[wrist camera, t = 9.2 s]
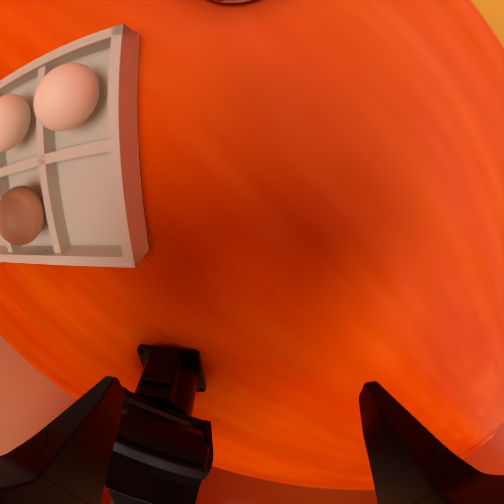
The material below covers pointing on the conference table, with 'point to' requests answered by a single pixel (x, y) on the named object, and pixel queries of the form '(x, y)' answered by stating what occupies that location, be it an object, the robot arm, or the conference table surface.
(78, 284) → the conference table surface
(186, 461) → the robot arm
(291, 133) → the conference table surface
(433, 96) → the conference table surface
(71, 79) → the cream egg
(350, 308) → the conference table surface
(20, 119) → the cream egg
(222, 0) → the beverage can
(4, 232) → the egg brown
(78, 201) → the egg tray
